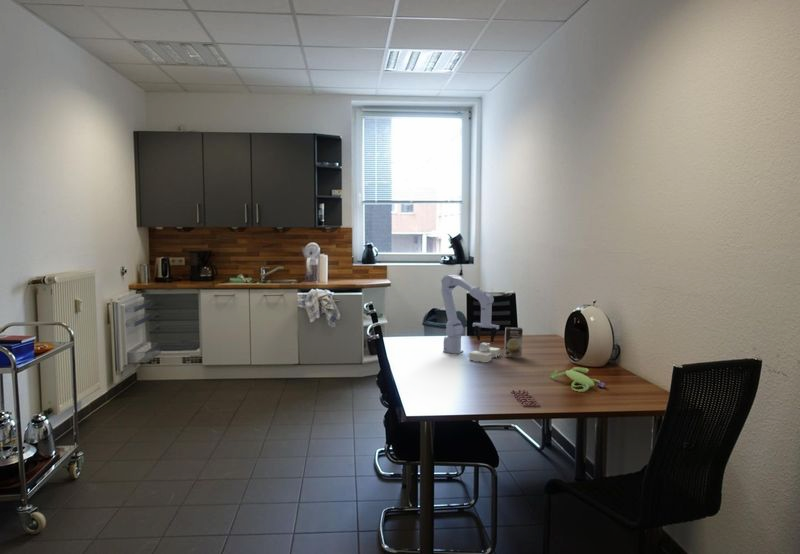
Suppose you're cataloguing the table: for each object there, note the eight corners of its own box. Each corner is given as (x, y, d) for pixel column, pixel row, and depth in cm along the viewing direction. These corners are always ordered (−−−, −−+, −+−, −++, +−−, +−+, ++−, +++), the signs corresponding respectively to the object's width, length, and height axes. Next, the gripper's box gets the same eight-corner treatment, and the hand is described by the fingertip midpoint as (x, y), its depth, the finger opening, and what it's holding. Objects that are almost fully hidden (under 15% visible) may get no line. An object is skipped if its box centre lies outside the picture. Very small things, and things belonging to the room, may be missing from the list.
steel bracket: (479, 358, 301) (479, 344, 300) (482, 356, 305) (483, 342, 305) (486, 359, 299) (486, 344, 298) (489, 357, 303) (490, 343, 303)
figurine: (580, 375, 269) (581, 364, 269) (614, 391, 244) (614, 379, 243) (546, 377, 265) (546, 366, 265) (576, 393, 239) (576, 380, 239)
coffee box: (504, 357, 303) (505, 328, 302) (503, 355, 310) (504, 326, 308) (521, 358, 302) (522, 329, 301) (520, 355, 309) (521, 327, 307)
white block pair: (469, 360, 296) (469, 352, 296) (483, 353, 313) (483, 346, 313) (487, 362, 291) (487, 355, 291) (499, 355, 309) (500, 348, 308)
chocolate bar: (523, 408, 219) (523, 403, 219) (510, 394, 238) (511, 389, 238) (540, 408, 220) (541, 403, 219) (527, 394, 238) (527, 389, 238)
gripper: (470, 315, 300) (470, 340, 302) (496, 318, 293) (495, 343, 295) (475, 314, 307) (475, 338, 308) (500, 316, 299) (500, 341, 301)
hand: (485, 340), depth 302 cm, fingers open, 7 cm apart
